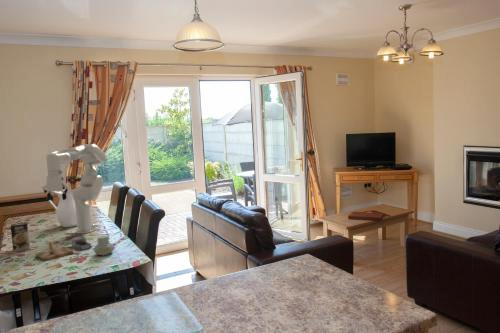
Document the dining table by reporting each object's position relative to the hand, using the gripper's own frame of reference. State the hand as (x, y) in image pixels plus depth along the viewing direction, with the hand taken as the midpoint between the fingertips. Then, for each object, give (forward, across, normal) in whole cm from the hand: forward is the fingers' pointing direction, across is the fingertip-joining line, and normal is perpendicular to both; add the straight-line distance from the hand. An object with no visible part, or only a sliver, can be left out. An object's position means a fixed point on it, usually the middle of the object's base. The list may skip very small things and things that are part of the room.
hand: (57, 199), depth 247 cm
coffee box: (+29, +20, +9) cm, 36 cm away
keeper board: (+29, -8, +23) cm, 38 cm away
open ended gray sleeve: (+28, -18, +10) cm, 35 cm away
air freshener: (+29, -39, +24) cm, 54 cm away
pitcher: (+27, +21, -46) cm, 58 cm away
